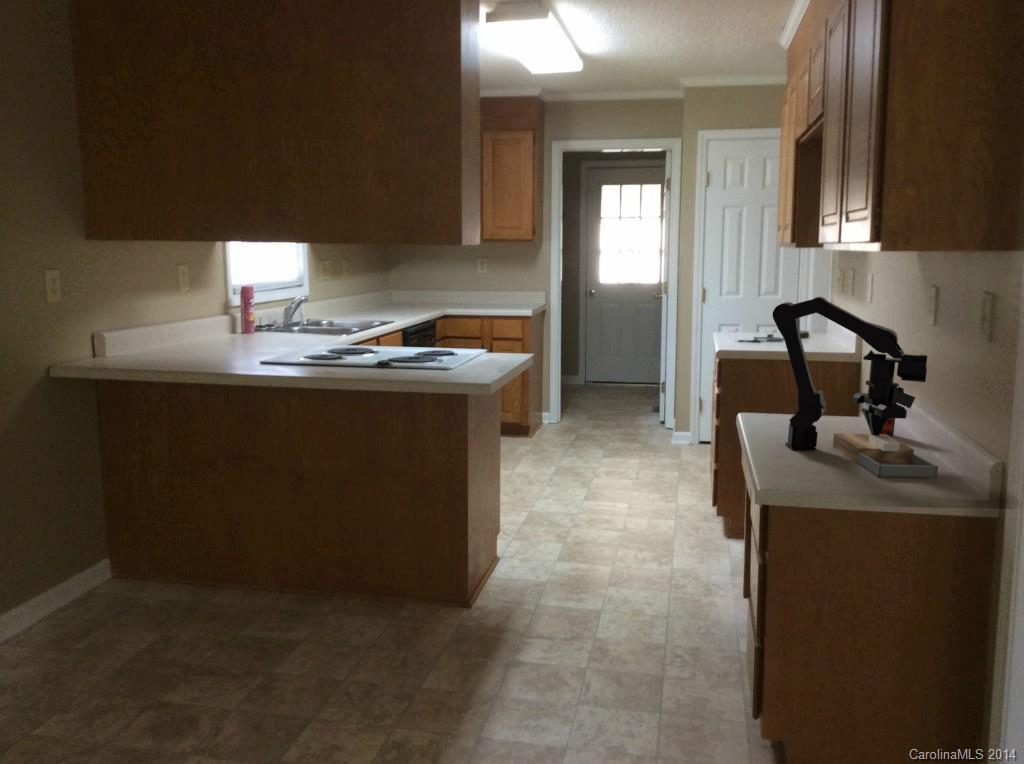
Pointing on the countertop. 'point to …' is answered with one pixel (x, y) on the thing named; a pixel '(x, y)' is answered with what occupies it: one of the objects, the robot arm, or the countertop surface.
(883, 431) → the deodorant
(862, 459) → the tray
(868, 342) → the robot arm
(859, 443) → the wooden block
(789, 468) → the countertop surface
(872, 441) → the tile
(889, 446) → the tile
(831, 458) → the countertop surface
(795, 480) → the countertop surface
